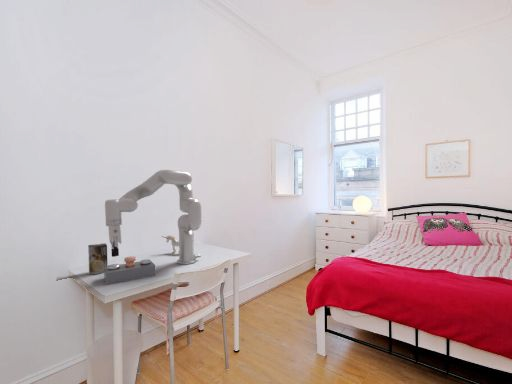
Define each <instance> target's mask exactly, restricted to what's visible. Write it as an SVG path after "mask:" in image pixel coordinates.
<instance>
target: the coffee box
mask: <svg viewBox="0 0 512 384" xmlns="http://www.w3.org/2000/svg"><path fill="white" fill-rule="evenodd" d="M87 249H88V274H89V276H90V275H97V274H102V273H104V267H107V266H109V265H108V245H107V243H106V242H105V243H95V244H88V246H87Z"/></svg>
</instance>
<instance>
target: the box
mask: <svg viewBox="0 0 512 384" xmlns="http://www.w3.org/2000/svg"><path fill="white" fill-rule="evenodd" d="M119 265H120V268H119V269H116V270H108V266H109V265H108V266H107V267H104V275H103V277H104V281H105V283H106V285H112V284H119V283H123V282H128V281H134V280H139V279H143V278H145V279H146V278H150V277H154V276H156V264H155V263H154V262H153V261H152V260H151V263H150V264H147V265H141V264H140V261H136V262H135V261H134V267H128V268H126V263H122V264H119Z"/></svg>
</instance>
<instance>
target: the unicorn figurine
mask: <svg viewBox="0 0 512 384" xmlns="http://www.w3.org/2000/svg"><path fill="white" fill-rule="evenodd" d="M161 237H162V238H165V239H166V243H167V244H168V243H169V241H171V245H172V250H173V251H172V254H175V253H176V252H177V251H176V249H175V247H178V248H179V240H177V239H176V237H174V236H173V235H171V234H170V235H166V236H163V235H162V236H161Z"/></svg>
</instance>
